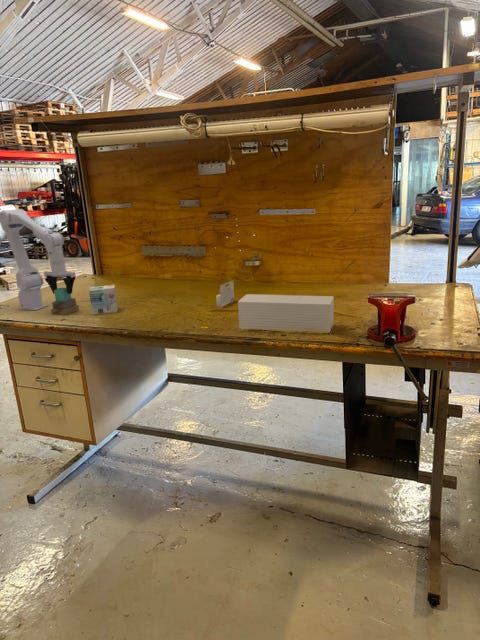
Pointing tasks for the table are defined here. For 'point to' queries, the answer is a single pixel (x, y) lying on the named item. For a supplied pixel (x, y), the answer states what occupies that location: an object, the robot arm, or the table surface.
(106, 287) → the light bulb box
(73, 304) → the top slab
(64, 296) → the teal block
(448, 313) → the table surface
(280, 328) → the stack of papers
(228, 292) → the ink cartridge box
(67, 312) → the bottom slab
